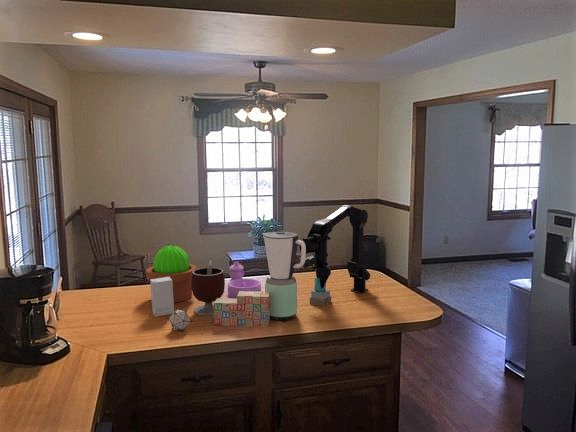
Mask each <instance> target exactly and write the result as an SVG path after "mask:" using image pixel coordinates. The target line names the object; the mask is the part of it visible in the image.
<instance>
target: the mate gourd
mask: <svg viewBox="0 0 576 432" xmlns="http://www.w3.org/2000/svg"><path fill="white" fill-rule="evenodd" d="M225 281H226V279H225V274H224V270H223V269H222V268H219V267H213V260H212V259H210V260H209V262H208V265H207V267H200V268H197V269H196V270H194V271H193V272H192V279H191V287H192V296H193V297H194V298H195V299H196V301H199V302H202V303H204V304H202V305H198V306H196V307H195V308H193V312H194V314H196V315H199V316H214V302H215V301H216V299H217V298H222V297H223V295H224V292H225V285H226V282H225Z"/></svg>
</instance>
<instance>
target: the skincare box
mask: <svg viewBox="0 0 576 432" xmlns="http://www.w3.org/2000/svg"><path fill="white" fill-rule="evenodd" d="M150 295H151V297H150V298H151V311H152V314H153V316H154V317H161V316H162V317H163V316H168V315H172V314H173V313H174V312H175V304H174V303H175V302H174V301H173V284H172V279H171V278H170V277H163V278H157V279H150Z"/></svg>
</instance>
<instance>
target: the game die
mask: <svg viewBox="0 0 576 432" xmlns="http://www.w3.org/2000/svg"><path fill="white" fill-rule="evenodd" d="M166 319H168V320H169V322H170V325H171V327H172V328H171V330H172V331H173V330H175V329H176V330H179V331H181V332H182V333H183V332H184V330H185V328H186V327H187V326H188V325H189V324H190V323H193V320H191V319H190V317H189V315H188V309H185V310H181V309H178V308H177V307H176V308H175V310H174V313H173V314H170V316H169V317H168V316H167V317H166Z"/></svg>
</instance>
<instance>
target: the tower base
mask: <svg viewBox="0 0 576 432" xmlns="http://www.w3.org/2000/svg"><path fill="white" fill-rule="evenodd" d="M331 303H332V295H330V297H328V298H326V299H323V300H321V299H316V298H312V297H311V296H310V297H309V304H311V305H315V306H320V307H325V306H327V305H329V304H331Z"/></svg>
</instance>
